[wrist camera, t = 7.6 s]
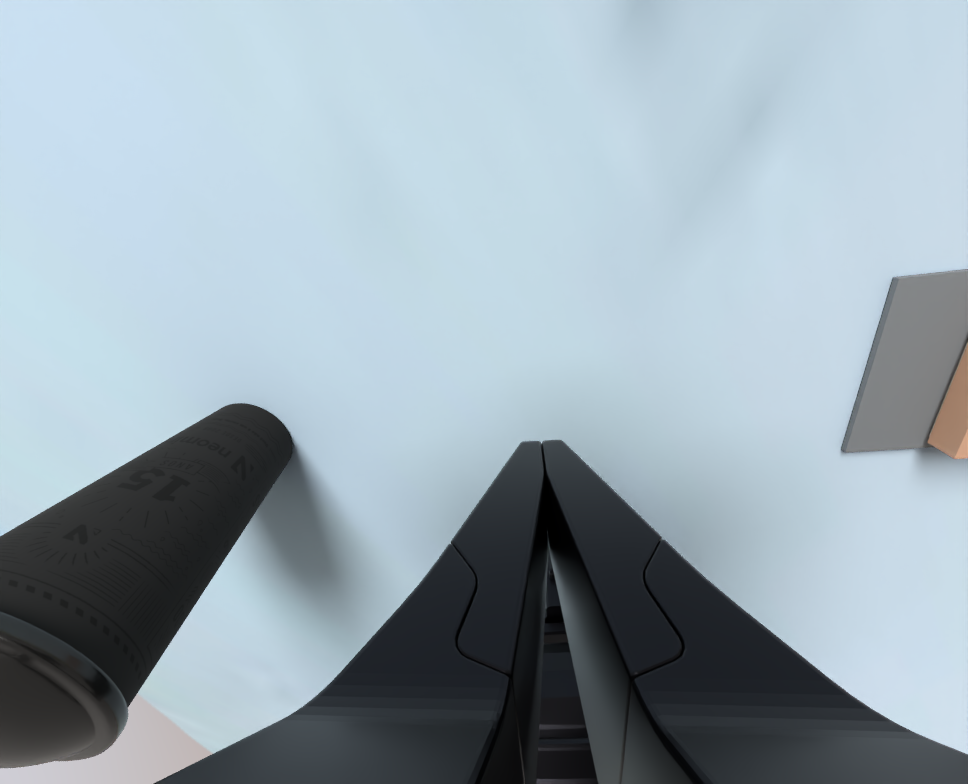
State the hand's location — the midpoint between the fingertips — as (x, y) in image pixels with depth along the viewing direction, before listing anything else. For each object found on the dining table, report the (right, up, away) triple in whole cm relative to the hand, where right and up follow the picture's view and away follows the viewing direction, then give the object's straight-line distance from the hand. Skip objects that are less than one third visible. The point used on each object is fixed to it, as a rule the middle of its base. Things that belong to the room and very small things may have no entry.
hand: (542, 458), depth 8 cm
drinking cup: (-15, -1, +16) cm, 22 cm away
